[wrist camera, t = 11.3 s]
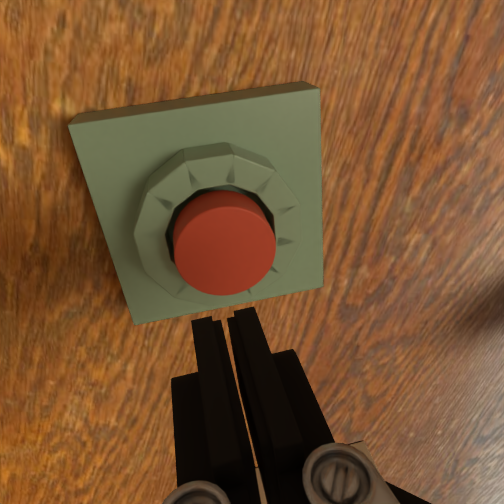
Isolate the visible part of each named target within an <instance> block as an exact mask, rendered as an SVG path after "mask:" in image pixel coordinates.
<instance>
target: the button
mask: <svg viewBox="0 0 504 504" xmlns="http://www.w3.org/2000/svg"><path fill="white" fill-rule="evenodd" d="M173 245H174V260H175V264H176V267H177V270H178V272H179V274H180V275H181V276H182V278H183V279H184V280H185V281H186V282H187V283H188V284H189V285H190V286H192V287H193V288H195V289H197V290H199V291H201V292H203V293H207V294H211V295H219V296H223V295H233V294H237V293H240V292H243V291H245V290H247V289H249V288H251V287H253V286H254V285H256V284H257V283H258V282H259V281H261V280H262V279H263V278H264V277H265V275H266V274H267V273H268V271H269V270H270V268H271V266H272V264H273V261H274V258H275V253H276V241H275V236H274V233H273V231H272V229H271V227H270V225H269V223H268V221H267V219H266V217H265V216H264V214H263V212H262V210H261V209H260V207H259V206H258V205H257V204H256V203H255V202H254V201H253V200H252V199H250V198H249V197H247V196H245V195H243V194H241V193H238V192H234V191H228V190H218V191H212V192H207V193H205V194H202V195H200V196H198V197H196V198H194V199H193V200H192V201H190V202H189V203H188V204H187V205H186V206H185V207H184V208H183V209H182V210H181V212H180V213H179V215H178V217H177V219H176V221H175V225H174V230H173Z"/></svg>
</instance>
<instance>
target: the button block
mask: <svg viewBox="0 0 504 504" xmlns="http://www.w3.org/2000/svg"><path fill="white" fill-rule="evenodd" d="M68 129H69V132H70V135H71V138H72V141H73V144H74V147H75V150H76V153H77V156H78V159H79V162H80V165H81V168H82V171H83V174H84V177H85V180H86V183H87V186H88V189H89V192H90V195H91V198H92V201H93V204H94V207H95V210H96V213H97V216H98V219H99V222H100V225H101V227H102V230H103V233H104V236H105V239H106V242H107V245H108V248H109V251H110V254H111V257H112V260H113V263H114V266H115V269H116V272H117V275H118V278H119V281H120V284H121V287H122V290H123V293H124V296H125V299H126V302H127V305H128V308H129V311H130V314H131V317H132V320H133V323H134V325H139V324H144V323H149V322H154V321H159V320H163V319H168V318H173V317H178V316H183V315H188V314H193V313H198V312H203V311H208V310H212V309H217V308H222V307H227V306H232V305H237V304H242V303H247V302H252V301H257V300H261V299H266V298H271V297H276V296H281V295H286V294H291V293H296V292H301V291H306V290H310V289H315V288H320V287H323V232H322V173H321V114H320V88H318V87H316V86H314V85H311V84H309V83H307V82H304V81H301V82H294V83H287V84H280V85H273V86H266V87H259V88H252V89H246V90H239V91H232V92H225V93H218V94H211V95H204V96H197V97H190V98H183V99H176V100H170V101H163V102H156V103H149V104H142V105H135V106H128V107H121V108H114V109H107V110H100V111H94V112H87V113H80V114H77V115H76V117H75V118H74V119H73V120H72V121H71V122H70V123H69V124H68ZM218 190H228V191H234V192H238V193H241V194H243V195H245V196H247V197H249V198H250V199H252V200H253V201H254V202H255V203H256V204H257V205H258V206H259V207H260V209H261V210H262V212H263V214H264V216H265V217H266V219H267V221H268V223H269V225H270V227H271V229H272V231H273V233H274V236H275V241H276V253H275V258H274V261H273V264H272V266H271V268H270V270H269V271H268V273H267V274H266V275H265V277H264V278H263V279H262V280H261V281H259V282H258V283H257V284H256V285H254V286H253V287H251V288H249V289H247V290H245V291H243V292H240V293H237V294H233V295H223V296H219V295H211V294H207V293H203V292H201V291H199V290H197V289H195V288H193V287H192V286H190V285H189V284H188V283H187V282H186V281H185V280H184V279H183V278H182V276H181V275H180V274H179V272H178V270H177V267H176V264H175V260H174V245H173V230H174V225H175V221H176V219H177V217H178V215H179V213H180V212H181V210H182V209H183V208H184V207H185V206H186V205H187V204H188V203H189V202H190V201H192V200H193V199H194V198H196V197H198V196H200V195H202V194H205V193H207V192H212V191H218Z"/></svg>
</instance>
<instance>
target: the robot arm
mask: <svg viewBox="0 0 504 504" xmlns="http://www.w3.org/2000/svg"><path fill="white" fill-rule="evenodd" d="M227 321H228V327H229V333H230V338H231V344H232V350H233V355H234V361H235V366H236V372H237V378H238V383H239V389H240V394H241V398H242V402H243V406H244V410H245V415H246V419H247V423H248V427H249V431H250V435H251V439H252V443H253V447H254V451H255V456H256V460H257V464H258V468H259V472H260V476H261V480H262V484H263V488H264V492H265V497H266V501H267V504H431V503H429V502H427V501H425V500H423V499H421V498H419V497H417V496H415V495H413V494H411V493H409V492H407V491H404V490H402V489H400V488H398V487H396V486H394V485H392V484H390V483H388V482H386V481H384V479H383V478H382V476H381V475H380V473H379V472H378V470H377V469H376V467H375V466H374V465H373V463H372V462H371V461H370V460H369V458H368V457H367V456H366V455H365V454H364V453H363V452H361V451H360V450H358V449H356V448H355V447H353V446H350V445H347V444H344V443H335V441H334V439H333V436H332V434H331V432H330V429H329V427H328V425H327V423H326V420H325V418H324V416H323V414H322V411H321V409H320V407H319V404H318V402H317V400H316V398H315V395H314V393H313V391H312V388H311V386H310V384H309V382H308V379H307V377H306V375H305V373H304V370H303V368H302V366H301V363H300V361H299V359H298V357H297V355H296V353H295V351H294V350H293V349H290V350H286V351H282V352H278V353H274V354H271V351H270V349H269V346H268V343H267V340H266V338H265V335H264V332H263V329H262V327H261V324H260V321H259V318H258V316H257V313H256V310H255V308H254V307H250V308H245V309H241V310H236V311H234V317H230V318H227ZM191 323H192V330H193V338H194V345H195V352H196V359H197V366H198V372H195V373H191V374H187V375H183V376H178V377H174V378H172V379H171V391H172V407H173V423H174V440H175V456H176V472H177V488H176V489H175V490H173V491H172V492H171V493H170V495H169V496H168V497H167V498H166V499H165V500H164V501H163V503H162V504H261V499H260V493H259V487H258V482H257V476H256V470H255V464H254V459H253V454H252V449H251V445H250V440H249V436H248V432H247V428H246V423H245V419H244V415H243V411H242V407H241V402H240V398H239V394H238V390H237V386H236V381H235V377H234V373H233V369H232V365H231V361H230V356H229V352H228V348H227V344H226V340H225V335H224V331H223V327H222V323H221V320H217V321H212V316H209V317H205V318H200V319H196V320H192V321H191Z"/></svg>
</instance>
